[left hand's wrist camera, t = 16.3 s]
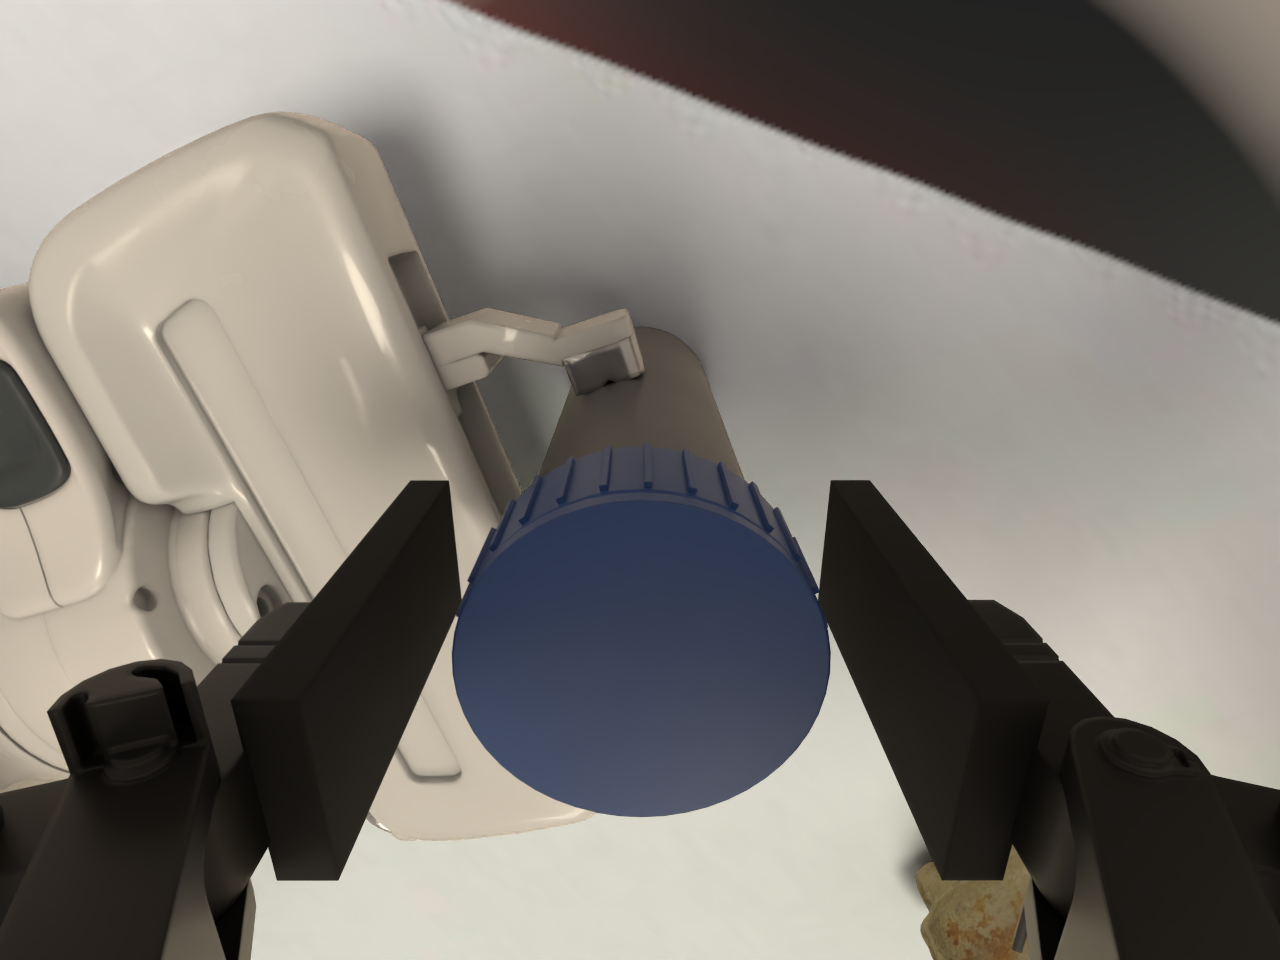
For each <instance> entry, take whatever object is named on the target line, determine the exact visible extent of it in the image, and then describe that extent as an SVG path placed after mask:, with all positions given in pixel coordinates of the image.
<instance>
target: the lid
mask: <svg viewBox="0 0 1280 960" xmlns="http://www.w3.org/2000/svg"><path fill="white" fill-rule="evenodd" d="M467 581H468V582H469V585H468V587H467V589H466V591H465V594H464V596H463V598H462V600H461V603H460V605H459V607H458V609H457V613H456V617H458V620H457V624H456V628H455V631H454V638H453V646H452V673H453V679H454V684H455V689H456V694H457V697H458V700H459V703H460V705H461V708H462V711H463V714H464V716H465V718H466V720H467V721H468V723H469V725H470V727H471V729H472V731H473V733H474V734H475V735H476V737H477V738H478V739H479V741H480V742H481V744H482V745H483V746H484V748H485V749H486V750H487V751H488V752H489V753H490V754H491V756H492V757H493V758H494V759H495V760H496V761H497V762H498V763H499V764H500V765H501V766H502V767H504V768H505V769H506V770H507V771H508V772H510V773H511V774H512V775H513V776H515V777H516V778H517V779H519V780H520V781H522V782H523V783H525V784H526V785H528V786H530V787H531V788H533V789H534V790H536V791H538V792H540V793H542V794H544V795H546V796H548V797H550V798H552V799H554V800H557V801H560V802H562V803H565V804H568V805H570V806H573V807H576V808H580V809H584V810H588V811H592V812H596V813H602V814H609V815H616V816H629V817H653V816H667V815H673V814H680V813H686V812H690V811H694V810H698V809H702V808H706V807H709V806H712V805H714V804H717V803H720V802H722V801H725V800H728V799H730V798H732V797H734V796H736V795H738V794H740V793H742V792H744V791H746V790H748V789H749V788H751V787H753V786H754V785H756V784H757V783H759V782H760V781H762V780H763V779H765V778H766V777H768V776H769V775H770V774H771V773H772V772H774V771H775V770H776V769H777V768H778V767H780V766H781V765H782V764H783V763H784V762H785V761H786V760H787V759H788V758H789V757H790V756H791V755H792V754H793V752H794V751H795V750H796V749H797V748H798V747H799V745H800V744H801V742H802V741H803V740H804V738H805V737H806V736H807V734H808V733H809V731H810V729H811V727H812V726H813V724H814V722H815V720H816V718H817V716H818V714H819V712H820V709H821V706H822V703H823V700H824V698H825V695H826V690H827V685H828V680H829V675H830V655H831V652H830V643H829V635H828V630H827V628H828V624H827V620H826V618H825V616H824V614H823V611H822V609H821V607H820V605H819V602H818V600H817V598H816V596H815V594H816V593H819V592H820V591H819V589H818V586H817V584H816V582H815V580H814V578H813V575H812V573H811V571H810V569H809V567H808V564H807V562H806V560H805V558H804V556H803V554H802V551H801V549H800V547H799V545H798V543H797V540H796V538H795V537H793V538H792V535H791V533H790V531H789V529H788V527H787V524H786V522H785V520H784V518H783V515H782V513H781V511H780V510H779V508H778V507H777V508H775V509H773V508H772V507H771V505H770V504H769V503H768V502H767V501H766V500H765V499H764V498H763V496H762V495H761V494H760V492H759V489H758V487H757V485H756V484H755V483H754V482H751V483H750V484H748V483H747V482H746V481H745V480H744V479H742V478H741V477H739V476H737V475H736V474H734V473H733V472H731V471H730V470H728V469H727V466H726V464H725V463H723V462H721V461H720V462H719V464H716V463H714V462H712V461H710V460H708V459H705V458H702V457H699V456H696V455H693V454H690V450H689V449H685V448H684V449H683V451H677V450H672V449H666V448H656V447H651V444H649V443H644V447H626V448H616V449H611V446H607V447H604V451H600V452H595V453H592V454H589V455H586V456H583V457H580V458H577V459H574V457H570V458H568V459H567V461H566V464H564V465H562V466H560V467H557V468H555V469H554V470H552V471H551V472H549V473H548V474H546V475H545V476H543V477H541V476H540V475H537V476H536V477H535V478H534V480H533V483H532V485H531V486H530V487H529V488H528V489H527V490H526V491H524V492H523V493H522V494H521V495H520V496H519V498H518V499H517V500H516V501H515V500H513V499H511V500H510V501H509V502H508V504H507V506H506V509H505V511H504V513H503V515H502V518H501V520H500V522H499V524H498V526H497V529H495V528H493V527H492V528H491V529H490V531H489V534H488V536H487V538H486V540H485V542H484V545H483V547H482V549H481V551H480V554H479V556H478V558H477V560H476V562H475V565H474V567H473V569H472V571H471V573H470V576H469V578H468V580H467Z"/></svg>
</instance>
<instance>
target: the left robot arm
mask: <svg viewBox="0 0 1280 960" xmlns="http://www.w3.org/2000/svg"><path fill="white" fill-rule="evenodd" d="M819 591H820V592H819V597H818V602H819V605H820V607H821V609H822V611H823V614H824V616H825V618H826V620H827V623H828V625H829V627H830V629H831V632H832V634H833V636H834V638H835V641H836V643H837V645H838V647H839V650H840V652H841V654H842V656H843V659H844V661H845V663H846V666H847V668H848V670H849V672H850V675H851V677H852V679H853V681H854V684H855V686H856V688H857V690H858V693H859V695H860V697H861V699H862V702H863V704H864V706H865V708H866V711H867V713H868V715H869V717H870V720H871V722H872V724H873V726H874V729H875V731H876V733H877V735H878V738H879V740H880V742H881V745H882V747H883V749H884V751H885V754H886V756H887V758H888V760H889V763H890V765H891V767H892V769H893V772H894V774H895V776H896V778H897V781H898V783H899V785H900V787H901V790H902V792H903V794H904V796H905V799H906V801H907V803H908V805H909V808H910V810H911V812H912V814H913V817H914V819H915V821H916V824H917V826H918V828H919V830H920V833H921V835H922V837H923V839H924V842H925V844H926V846H927V848H928V851H929V853H930V855H931V857H932V860H933V862H934V864H935V866H936V869H937V871H938V873H939V875H940V878H941V880H1003V878H1004V875H1005V871H1006V867H1007V863H1008V859H1009V855H1010V851H1011V848H1012V844H1013V846H1014V848H1015V849H1016V851H1017V853H1018V855H1019V856H1020V858H1021V860H1022V862H1023V863H1024V865H1025V867H1026V869H1027V870H1028V872H1029V874H1030V875H1031V876H1030V879H1029V883H1028V886H1027V890H1026V894H1025V897H1024V901H1023V904H1022V908H1021V912H1020V915H1019V919H1018V922H1017V926H1016V930H1015V933H1014V938H1013V944H1012V950H1013V951H1016V952H1019V953H1022V951H1023V947H1024V944H1025V940H1026V937H1027V938H1028V947H1029V956H1030V960H1280V790H1278V789H1273V788H1268V787H1264V786H1259V785H1255V784H1250V783H1245V782H1241V781H1236V780H1231V779H1227V778H1222V777H1218V776H1214V775H1211V774H1210V772H1209V771H1208V770H1207V768H1206V767H1205V766H1204V764H1203V763H1202V762H1201V760H1200V759H1199V758H1198V756H1197V755H1195V754H1194V753H1193V752H1192V751H1190V750H1189V749H1188V748H1186V747H1185V746H1184V745H1182V744H1181V743H1180V742H1179V741H1177V740H1176V739H1174V738H1172V737H1170V736H1168V735H1166V734H1164V733H1162V732H1160V731H1158V730H1156V729H1154V728H1152V727H1150V726H1147V725H1143V724H1140V723H1137V722H1134V721H1131V720H1127V719H1123V718H1115V717H1114V716H1113V715H1112V714H1111V713H1110V712H1109V711H1108V710H1107V709H1106V708H1105V707H1104V705H1103V704H1102V703H1101V702H1100V701H1099V700H1098V699H1097V698H1096V697H1095V696H1094V695H1093V693H1092V692H1091V691H1090V690H1089V689H1088V688H1087V687H1086V686H1085V685H1084V684H1083V683H1082V681H1081V680H1080V679H1079V678H1078V677H1077V676H1076V675H1075V674H1074V673H1073V672H1072V671H1071V669H1070V668H1069V667H1068V666H1067V665H1066V664H1065V663H1064V662H1063V661H1059V659H1058V657H1059V656H1058V655H1057V654H1056V653H1055V652H1054V651H1053V650H1052V649H1051V648H1050V646H1049V645H1048V644H1047V643H1043V641H1042V638H1041V637H1040V636H1039V634H1038V633H1037V632H1036V631H1035V630H1034V629H1033V628H1032V627H1031V626H1030V625H1029V624H1028V622H1027V621H1026V620H1025V619H1024V618H1023V617H1021V616H1019V615H1018V614H1016V613H1014V612H1013V611H1011V610H1009V609H1008V608H1006V607H1005V606H1003V605H1001V604H1000V603H998V602H996V601H995V600H967V599H966V598H965V596H964V595H963V594H962V593H961V592H960V590H959V589H958V588H957V587H956V585H955V584H954V583H953V582H952V581H951V579H950V578H949V577H948V576H947V574H946V573H945V572H944V571H943V570H942V568H941V567H940V566H939V565H938V563H937V562H936V561H935V560H934V559H933V557H932V556H931V555H930V554H929V552H928V551H927V550H926V549H925V547H924V546H923V545H922V544H921V543H920V541H919V540H918V539H917V538H916V536H915V535H914V534H913V533H912V532H911V530H910V529H909V528H908V527H907V525H906V524H905V523H904V522H903V521H902V519H901V518H900V517H899V516H898V514H897V513H896V512H895V511H894V510H893V508H892V507H891V506H890V505H889V503H888V502H887V501H886V500H885V499H884V497H883V496H882V495H881V494H880V492H879V491H878V490H877V489H876V488H875V486H874V485H873V484H872V483H871V481H870V480H831V484H830V494H829V503H828V512H827V522H826V531H825V541H824V550H823V559H822V569H821V578H820V588H819ZM461 600H462V597H461V588H460V578H459V569H458V560H457V550H456V541H455V531H454V522H453V512H452V503H451V494H450V484H449V480H410V481H409V483H408V484H407V485H406V486H405V488H404V489H403V490H402V491H401V492H400V494H399V495H398V496H397V497H396V499H395V500H394V501H393V502H392V503H391V505H390V506H389V507H388V508H387V510H386V511H385V512H384V513H383V514H382V516H381V517H380V518H379V519H378V521H377V522H376V523H375V524H374V525H373V527H372V528H371V529H370V530H369V532H368V533H367V534H366V535H365V536H364V538H363V539H362V540H361V541H360V543H359V544H358V545H357V546H356V547H355V549H354V550H353V551H352V552H351V554H350V555H349V556H348V557H347V558H346V560H345V561H344V562H343V563H342V565H341V566H340V567H339V568H338V570H337V571H336V572H335V573H334V574H333V576H332V577H331V578H330V579H329V581H328V582H327V583H326V584H325V585H324V587H323V588H322V589H321V590H320V592H319V593H318V594H317V595H316V596H315V598H314V599H313V600H312V601H311V602H286V603H285V604H283V605H281V606H280V607H278V608H276V609H275V610H273V611H272V612H270V613H268V614H267V615H265V616H263V617H262V618H260V619H258V620H257V621H256V622H255V623H254V624H253V625H252V627H251V628H250V629H249V630H248V631H247V632H246V633H245V634H244V635H243V636H242V638H241V639H240V640H239V641H238V645H234V646H233V647H232V649H231V650H230V651H229V652H228V653H227V654H226V655H225V656H224V657H223V658H222V663H218V664H217V665H216V666H215V667H214V668H213V669H212V671H211V672H210V673H209V674H208V675H207V676H206V677H205V678H204V679H203V680H202V682H201V683H200V684H199V685H198V686H197V685H196V682H195V678H194V674H193V671H192V669H191V668H189V667H188V666H187V665H185V664H184V663H182V662H180V661H173V660H167V659H155V660H145V661H136V662H133V663H129V664H126V665H122V666H118V667H115V668H111V669H108V670H106V671H104V672H102V673H99V674H97V675H95V676H93V677H90V678H88V679H86V680H84V681H82V682H80V683H79V684H77V685H76V686H74V687H73V688H71V689H70V690H68V691H67V692H65V693H64V694H63V695H61V696H60V697H59V698H58V699H57V700H56V702H55V703H54V704H53V705H52V706H51V707H50V708H49V710H48V711H47V714H48V717H49V719H50V722H51V724H52V727H53V730H54V732H55V735H56V738H57V740H58V743H59V746H60V748H61V751H62V754H63V756H64V759H65V761H66V764H67V767H68V769H69V772H70V776H69V778H67V779H63V780H59V781H54V782H50V783H45V784H40V785H36V786H31V787H26V788H22V789H17V790H13V791H8V792H3V793H0V960H250V959H251V950H252V940H253V931H254V922H255V912H256V902H255V896H254V890H253V886H252V883H251V879H250V878H251V876H252V874H253V872H254V871H255V869H256V867H257V865H258V864H259V862H260V860H261V858H262V857H263V855H264V853H265V851H266V850H267V848H269V851H270V855H271V859H272V863H273V867H274V871H275V875H276V878H277V880H339V878H340V875H341V873H342V871H343V869H344V866H345V864H346V862H347V860H348V857H349V855H350V853H351V851H352V848H353V846H354V844H355V842H356V839H357V837H358V835H359V833H360V830H361V828H362V826H363V824H364V821H365V819H366V817H367V814H368V812H369V810H370V808H371V805H372V803H373V801H374V799H375V796H376V794H377V792H378V790H379V787H380V785H381V783H382V781H383V778H384V776H385V774H386V772H387V769H388V767H389V765H390V763H391V760H392V758H393V756H394V754H395V751H396V749H397V747H398V745H399V742H400V740H401V738H402V735H403V733H404V731H405V729H406V726H407V724H408V722H409V720H410V717H411V715H412V713H413V711H414V708H415V706H416V704H417V702H418V699H419V697H420V695H421V693H422V690H423V688H424V686H425V684H426V681H427V679H428V677H429V675H430V672H431V670H432V668H433V665H434V663H435V661H436V659H437V656H438V654H439V652H440V650H441V647H442V645H443V643H444V641H445V638H446V636H447V634H448V632H449V629H450V627H451V625H452V623H453V620H454V618H455V616H456V613H457V609H458V607H459V605H460V603H461Z"/></svg>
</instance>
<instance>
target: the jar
mask: <svg viewBox="0 0 1280 960" xmlns="http://www.w3.org/2000/svg"><path fill="white" fill-rule="evenodd" d="M633 328H634V330H635V333H636V337H637V340H638V343H639V346H640V350H641V353H642V356H643V359H644V363H645V365H644V367H645V370H644V372H643V373H642V374H640V375H639V376H637V377H634V378H632V379H629V380H626V381H621V382H615V381H612V380H608V381H607V382H606V383H605V385H604V386H603V387H602V388H599V389H597V390H595V391H592V392H589V393H586V394H583V395H579V396H576V394H575V391H574V389H573V386H571V388H570V391H569V394H568V397H567V399H566V402H565V405H564V408H563V410H562V413H561V416H560V418H559V421H558V424H557V427H556V429H555V432H554V435H553V438H552V440H551V443H550V446H549V449H548V451H547V454H546V457H545V459H544V462H543V465H542V468H541V470H540V473H539V475H540V476H541V477H543V476H545V475H546V474H548V473H549V472H551V471H552V470H554V469H555V468H557V467H560V466H562V465H564V464H566V461H567V459H568V458H570V457H574V459H577V458H580V457H583V456H586V455H589V454H592V453H595V452H600V451H604V447H607V446H611V449H616V448H626V447H644V443H649V444H651V447H656V448H666V449H672V450H677V451H683V449H684V448H685V449H689V450H690V454H693V455H696V456H699V457H702V458H705V459H708V460H710V461H712V462H714V463H716V464H719V462H720V461H721V462H723V463H725V464H726V466H727V469H728V470H730V471H731V472H733V473H734V474H736V475H737V476H739V477H741V478H742V479H744V477H743V475H742V472H741V469H740V467H739V464H738V461H737V458H736V456H735V453H734V450H733V448H732V445H731V442H730V440H729V437H728V434H727V432H726V429H725V426H724V424H723V421H722V418H721V416H720V413H719V410H718V407H717V405H716V402H715V399H714V397H713V394H712V391H711V389H710V386H709V383H708V381H707V378H706V375H705V373H704V370H703V368H702V365H701V363H700V361H699V360H698V358H697V357H696V355H695V354H694V352H693V351H692V350H691V349H690V348H689V347H688V346H687V345H686V344H685V343H684V342H683V341H681V340H680V339H678V338H677V337H675V336H673V335H671V334H669V333H667V332H665V331H662V330H659V329H654V328H649V327H633Z"/></svg>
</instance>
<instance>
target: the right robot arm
mask: <svg viewBox="0 0 1280 960" xmlns="http://www.w3.org/2000/svg"><path fill="white" fill-rule="evenodd" d="M503 356H509V357H514V358H520V359H525V360H531V361H536V362H542V363H547V364H553V365H558V366H563V365H564V366H565V368H566V371H567V373H568V376H569V379H570V381H571V384H572V386H573V389H574V391H575V394H576V396H579V395H583V394H586V393H589V392H592V391H595V390H597V389H599V388H602V387H603V386H604V385H605V383H606V382H607V381H608V380H612V381H615V382H621V381H626V380H629V379H632V378H634V377H637V376H639V375H640V374H642V373H643V372H644V370H645V367H644V365H645V363H644V359H643V356H642V353H641V350H640V346H639V343H638V340H637V337H636V333H635V330H634V328H633V324H632V321H631V318H630V315H629V312H628V309H620V310H615V311H612V312H609V313H606V314H603V315H600V316H597V317H594V318H591V319H588V320H585V321H582V322H579V323H576V324H573V325H570V326H567V327H564V328H562V326H561V324H560V323H556V322H551V321H547V320H542V319H538V318H533V317H528V316H524V315H519V314H515V313H510V312H505V311H501V310H496V309H492V308H484V309H481V310H478V311H475V312H472V313H469V314H466V315H463V316H461V317H458V318H455V319H452V320H449V318H448V316H447V313H446V311H445V309H444V306H443V304H442V301H441V299H440V297H439V294H438V292H437V290H436V287H435V285H434V282H433V280H432V278H431V275H430V273H429V271H428V268H427V266H426V264H425V261H424V259H423V256H422V254H421V252H420V249H419V247H418V245H417V242H416V240H415V238H414V235H413V233H412V230H411V228H410V226H409V223H408V221H407V219H406V216H405V214H404V212H403V209H402V207H401V204H400V202H399V200H398V197H397V195H396V193H395V190H394V188H393V186H392V183H391V181H390V178H389V176H388V173H387V171H386V169H385V166H384V164H383V161H382V159H381V157H380V155H379V153H378V151H377V150H376V148H375V147H374V145H373V144H371V143H370V142H369V141H368V140H367V139H365V138H363V137H361V136H359V135H357V134H355V133H353V132H351V131H349V130H347V129H345V128H342V127H340V126H338V125H336V124H333V123H331V122H328V121H325V120H323V119H320V118H316V117H313V116H310V115H305V114H299V113H290V112H272V113H264V114H260V115H256V116H252V117H249V118H246V119H244V120H241V121H238V122H236V123H233V124H231V125H228V126H226V127H223V128H221V129H219V130H217V131H214V132H212V133H210V134H208V135H205V136H203V137H201V138H199V139H197V140H195V141H193V142H191V143H189V144H186V145H184V146H182V147H180V148H178V149H176V150H174V151H172V152H170V153H168V154H166V155H164V156H163V157H161V158H159V159H157V160H155V161H153V162H151V163H150V164H148V165H146V166H144V167H142V168H141V169H139V170H137V171H135V172H133V173H132V174H130V175H128V176H126V177H125V178H123V179H121V180H120V181H118V182H116V183H115V184H113V185H112V186H110V187H108V188H107V189H105V190H104V191H102V192H100V193H99V194H97V195H96V196H94V197H93V198H91V199H89V200H88V201H86V202H85V203H83V204H82V205H80V206H79V207H78V208H76V209H75V210H73V211H72V212H71V213H69V214H68V215H67V216H66V217H64V218H63V219H62V220H61V221H60V222H59V223H58V224H57V225H56V226H55V227H54V228H53V229H52V230H51V231H50V232H49V234H48V235H47V236H46V238H45V239H44V241H43V242H42V244H41V245H40V247H39V249H38V250H37V253H36V255H35V258H34V260H33V263H32V266H31V270H30V277H29V283H25V284H20V285H16V286H12V287H8V288H4V289H0V793H3V792H8V791H13V790H17V789H22V788H26V787H31V786H36V785H40V784H45V783H50V782H54V781H59V780H63V779H67V778H69V776H70V772H69V769H68V767H67V764H66V761H65V759H64V756H63V754H62V751H61V748H60V746H59V743H58V740H57V738H56V735H55V732H54V730H53V727H52V724H51V722H50V719H49V717H48V714H47V711H48V710H49V708H50V707H51V706H52V705H53V704H54V703H55V702H56V700H57V699H58V698H59V697H60V696H61V695H63V694H64V693H65V692H67V691H68V690H70V689H71V688H73V687H74V686H76V685H77V684H79V683H80V682H82V681H84V680H86V679H88V678H90V677H93V676H95V675H97V674H99V673H102V672H104V671H106V670H108V669H111V668H115V667H118V666H122V665H126V664H129V663H133V662H136V661H145V660H155V659H167V660H173V661H180V662H182V663H184V664H185V665H187V666H188V667H189V668H191V669H192V671H193V674H194V678H195V682H196V685H197V686H198V685H199V684H200V683H201V682H202V680H203V679H204V678H205V677H206V676H207V675H208V674H209V673H210V672H211V671H212V669H213V668H214V667H215V666H216V665H217V664H218V663H222V658H223V657H224V656H225V655H226V654H227V653H228V652H229V651H230V650H231V649H232V647H233V646H234V645H238V641H239V640H240V639H241V638H242V636H243V635H244V634H245V633H246V632H247V631H248V630H249V629H250V628H251V627H252V625H253V624H254V623H255V622H256V621H257V620H258V619H260V618H262V617H263V616H265V615H267V614H268V613H270V612H272V611H273V610H275V609H276V608H278V607H280V606H281V605H283V604H285V603H286V602H311V601H312V600H313V599H314V598H315V596H316V595H317V594H318V593H319V592H320V590H321V589H322V588H323V587H324V585H325V584H326V583H327V582H328V581H329V579H330V578H331V577H332V576H333V574H334V573H335V572H336V571H337V570H338V568H339V567H340V566H341V565H342V563H343V562H344V561H345V560H346V558H347V557H348V556H349V555H350V554H351V552H352V551H353V550H354V549H355V547H356V546H357V545H358V544H359V543H360V541H361V540H362V539H363V538H364V536H365V535H366V534H367V533H368V532H369V530H370V529H371V528H372V527H373V525H374V524H375V523H376V522H377V521H378V519H379V518H380V517H381V516H382V514H383V513H384V512H385V511H386V510H387V508H388V507H389V506H390V505H391V503H392V502H393V501H394V500H395V499H396V497H397V496H398V495H399V494H400V492H401V491H402V490H403V489H404V488H405V486H406V485H407V484H408V483H409V481H410V480H449V484H450V494H451V503H452V512H453V522H454V531H455V541H456V550H457V560H458V569H459V578H460V588H461V597H462V598H463V596H464V594H465V591H466V589H467V587H468V585H469V582H468V581H467V580H468V578H469V576H470V573H471V571H472V569H473V567H474V565H475V562H476V560H477V558H478V556H479V554H480V551H481V549H482V547H483V545H484V542H485V540H486V538H487V536H488V534H489V531H490V529H491V528H492V527H493V528H495V529H497V526H498V524H499V522H500V520H501V518H502V515H503V513H504V511H505V509H506V506H507V504H508V502H509V501H510V500H511V499H513V500H515V501H516V500H517V499H518V498H519V496H520V495H521V494H522V491H521V489H520V486H519V484H518V481H517V479H516V477H515V474H514V472H513V470H512V467H511V465H510V463H509V460H508V458H507V455H506V453H505V451H504V448H503V446H502V444H501V441H500V439H499V436H498V434H497V432H496V429H495V427H494V425H493V422H492V420H491V417H490V415H489V413H488V410H487V408H486V406H485V403H484V401H483V399H482V396H481V394H480V391H479V389H478V387H477V384H476V382H475V381H476V380H479V379H482V378H485V377H487V376H488V375H489V374H490V372H491V371H492V370H493V369H494V368H495V367H496V365H497V364H498V363H499V362H500V361H501V359H502V358H503ZM457 620H458V617H456V616H455V618H454V620H453V623H452V625H451V627H450V629H449V632H448V634H447V636H446V638H445V641H444V643H443V645H442V647H441V650H440V652H439V654H438V656H437V659H436V661H435V663H434V665H433V668H432V670H431V672H430V675H429V677H428V679H427V681H426V684H425V686H424V688H423V690H422V693H421V695H420V697H419V699H418V702H417V704H416V706H415V708H414V711H413V713H412V715H411V717H410V720H409V722H408V724H407V726H406V729H405V731H404V733H403V735H402V738H401V740H400V742H399V745H398V747H397V749H396V751H395V754H394V756H393V758H392V760H391V763H390V765H389V767H388V769H387V772H386V774H385V776H384V778H383V781H382V783H381V785H380V787H379V790H378V792H377V794H376V796H375V799H374V801H373V803H372V805H371V808H370V810H369V812H368V814H367V817H366V819H367V820H368V821H369V822H370V823H372V824H373V825H375V826H376V827H378V828H380V829H382V830H384V831H387V832H390V833H392V835H393V836H394V837H395V838H396V839H399V840H405V841H413V840H424V841H449V840H464V839H474V838H484V837H492V836H500V835H508V834H516V833H523V832H530V831H536V830H541V829H547V828H553V827H558V826H563V825H568V824H573V823H577V822H580V821H584V820H586V819H588V818H590V817H592V816H593V815H595V814H596V812H592V811H588V810H584V809H580V808H576V807H573V806H570V805H568V804H565V803H562V802H560V801H557V800H554V799H552V798H550V797H548V796H546V795H544V794H542V793H540V792H538V791H536V790H534V789H533V788H531V787H530V786H528V785H526V784H525V783H523V782H522V781H520V780H519V779H517V778H516V777H515V776H513V775H512V774H511V773H510V772H508V771H507V770H506V769H505V768H504V767H502V766H501V765H500V764H499V763H498V762H497V761H496V760H495V759H494V758H493V757H492V756H491V754H490V753H489V752H488V751H487V750H486V749H485V748H484V746H483V745H482V744H481V742H480V741H479V739H478V738H477V737H476V735H475V734H474V733H473V731H472V729H471V727H470V725H469V723H468V721H467V720H466V718H465V716H464V714H463V711H462V708H461V705H460V703H459V700H458V697H457V694H456V689H455V684H454V679H453V673H452V646H453V638H454V631H455V628H456V624H457Z"/></svg>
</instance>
